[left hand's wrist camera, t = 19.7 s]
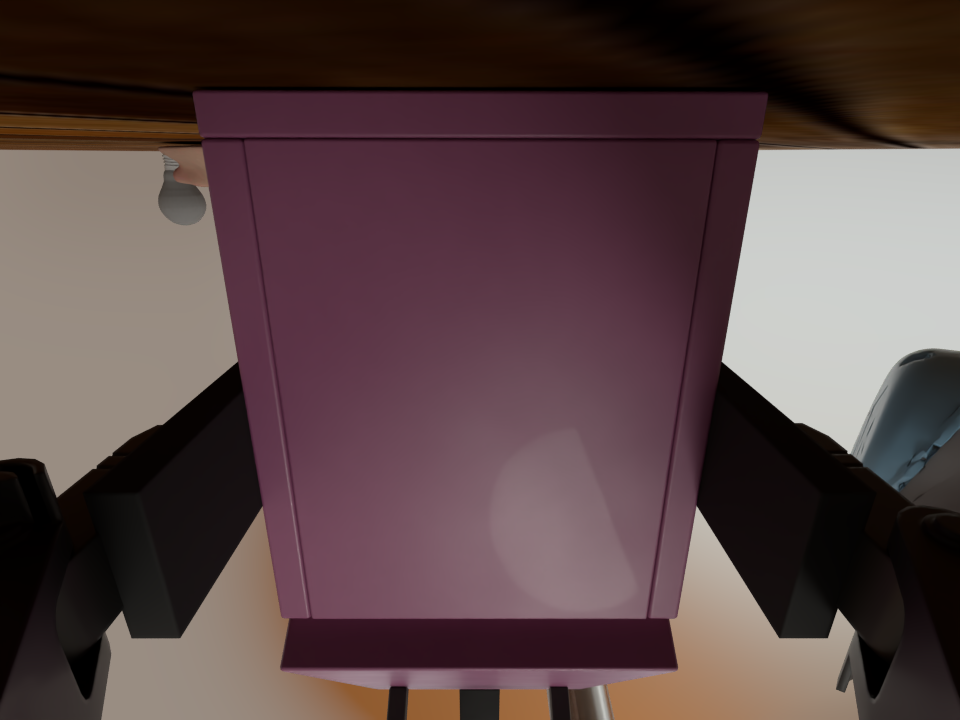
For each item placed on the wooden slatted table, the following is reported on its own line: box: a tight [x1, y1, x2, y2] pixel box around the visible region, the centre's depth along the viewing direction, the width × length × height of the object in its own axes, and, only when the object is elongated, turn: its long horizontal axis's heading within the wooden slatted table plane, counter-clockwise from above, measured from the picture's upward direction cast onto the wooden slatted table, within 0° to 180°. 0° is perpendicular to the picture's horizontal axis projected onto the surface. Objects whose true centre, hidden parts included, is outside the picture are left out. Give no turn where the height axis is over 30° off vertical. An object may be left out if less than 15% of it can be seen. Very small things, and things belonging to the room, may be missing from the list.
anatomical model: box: [158, 145, 209, 187], centre depth 42 cm, size 13×4×12 cm
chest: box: [193, 90, 768, 619], centre depth 16 cm, size 13×9×11 cm
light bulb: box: [158, 154, 206, 225], centre depth 74 cm, size 6×6×10 cm
